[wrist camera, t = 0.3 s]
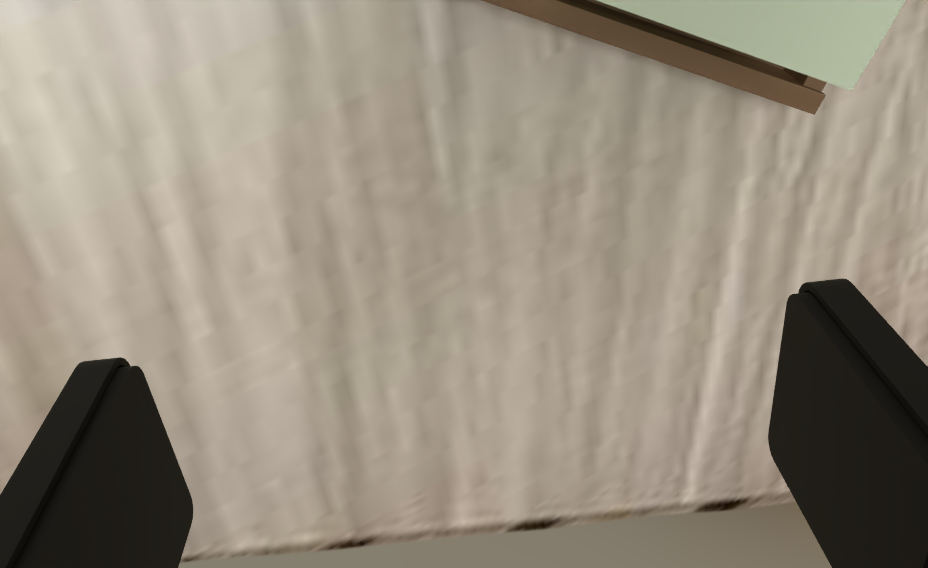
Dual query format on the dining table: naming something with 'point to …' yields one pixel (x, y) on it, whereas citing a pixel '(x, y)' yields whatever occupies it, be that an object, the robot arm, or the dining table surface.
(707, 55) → the wooden tray
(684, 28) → the pale green rectangular block
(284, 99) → the dining table surface
